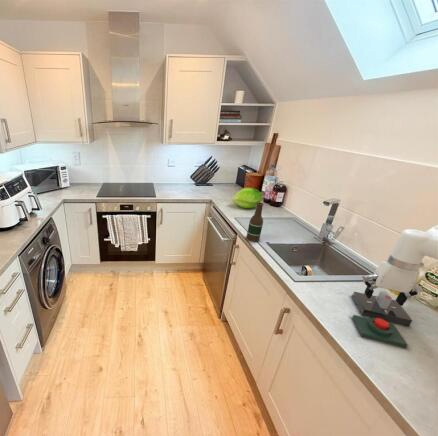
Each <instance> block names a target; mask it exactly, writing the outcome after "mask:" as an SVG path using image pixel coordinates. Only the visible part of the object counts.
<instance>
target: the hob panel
mask: <svg viewBox="0 0 438 436" xmlns="http://www.w3.org/2000/svg"><path fill="white" fill-rule="evenodd" d="M377 297H378V295H373V294H372V296H371V298H370V299H369V298H367V296H366V295H365V293H364V292H358V291H353V293H352V294H351V299H352V301H353V302H354V304H355V306H356V308H357V309H358V312H359V314H360V316H361V317H365V318H380V319H383V320H385V321H387V322H388V323H391V324H396V325H400V326H404V327H410V326H411V324H412V322H413V319H412V318H411V317H410V315H409V314H408V313H407V312H406V310H405V309H404V308H403V306H401V305H399V304H398V302H397V301H396V299H392V301H391V302H390V304H389V306H388V308H387V309H383V308H381V307H380V306H379V304H378V303H377V301H376V299H377Z"/></svg>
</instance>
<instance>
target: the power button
mask: <svg viewBox="0 0 438 436" xmlns="http://www.w3.org/2000/svg"><path fill="white" fill-rule="evenodd" d="M389 323H390V322H387V321H385V320H383V319H380V318H376V319H375V321H374V325H375V326H377V327H378V328H380V329H383V330H387V329H388V327H389Z"/></svg>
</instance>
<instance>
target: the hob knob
mask: <svg viewBox="0 0 438 436" xmlns="http://www.w3.org/2000/svg"><path fill="white" fill-rule="evenodd" d="M377 296H378V297H377V299H376V301H377V303H378V304H379V306H380V307H381V308H383V309H387V308H388V306H389V304H390V302H391V301H392V300H393V299H392V297H391V296H390V295H389V293H388V292H387V291H385V290H379V292H378V295H377Z"/></svg>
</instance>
